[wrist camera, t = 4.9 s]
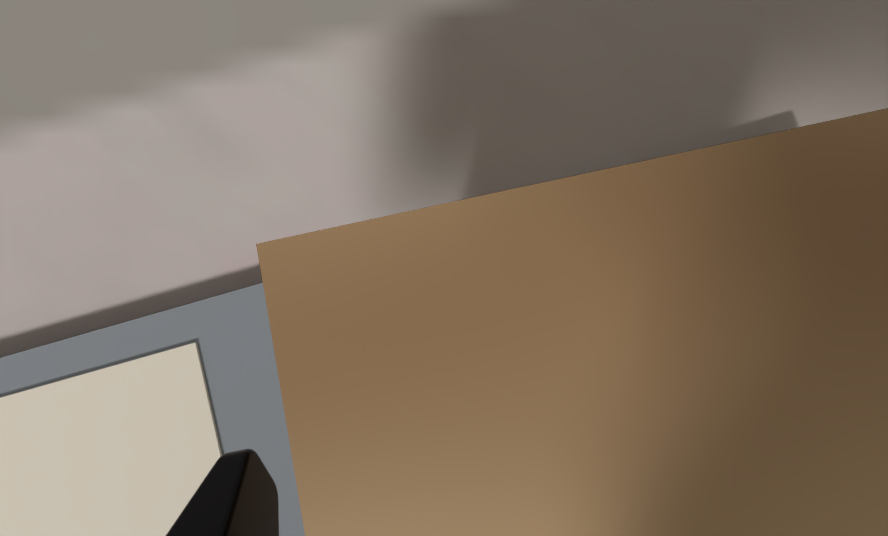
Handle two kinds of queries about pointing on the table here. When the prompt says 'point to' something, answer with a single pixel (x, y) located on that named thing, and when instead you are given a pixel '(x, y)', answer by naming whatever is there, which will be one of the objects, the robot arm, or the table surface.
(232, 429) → the rubber mat
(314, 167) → the table surface
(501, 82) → the table surface
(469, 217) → the wooden block
